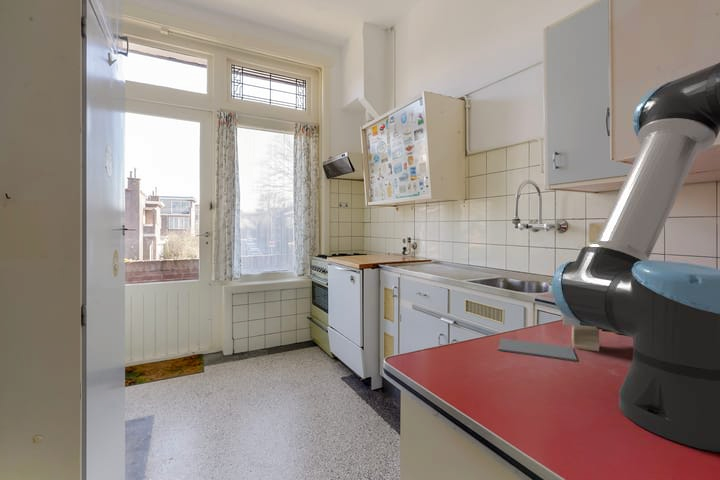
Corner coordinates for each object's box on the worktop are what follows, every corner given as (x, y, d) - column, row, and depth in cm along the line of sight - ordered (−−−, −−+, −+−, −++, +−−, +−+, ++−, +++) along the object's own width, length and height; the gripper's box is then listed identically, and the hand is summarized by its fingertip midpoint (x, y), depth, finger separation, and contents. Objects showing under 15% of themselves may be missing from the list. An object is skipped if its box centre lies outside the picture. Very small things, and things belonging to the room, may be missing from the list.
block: (599, 351, 79) (599, 301, 79) (574, 348, 81) (574, 299, 81) (595, 345, 83) (595, 297, 83) (571, 342, 86) (571, 296, 85)
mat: (576, 361, 73) (576, 359, 73) (498, 350, 80) (498, 348, 80) (572, 348, 81) (572, 346, 81) (500, 339, 88) (500, 338, 88)
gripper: (703, 357, 66) (565, 341, 76) (669, 333, 82) (559, 322, 92) (703, 319, 66) (565, 308, 76) (669, 302, 82) (559, 295, 92)
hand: (562, 316), depth 84 cm, fingers closed on block, 5 cm apart
